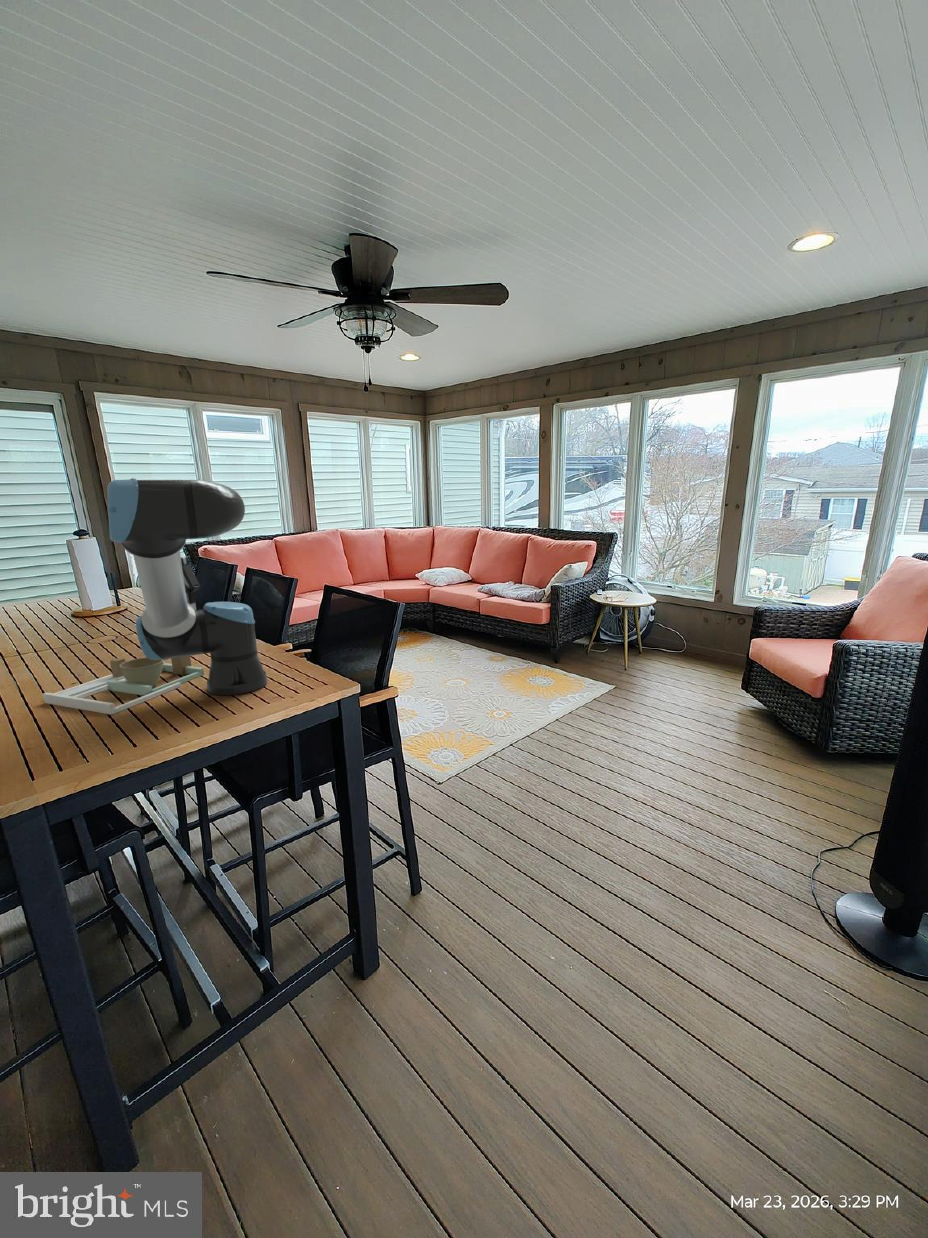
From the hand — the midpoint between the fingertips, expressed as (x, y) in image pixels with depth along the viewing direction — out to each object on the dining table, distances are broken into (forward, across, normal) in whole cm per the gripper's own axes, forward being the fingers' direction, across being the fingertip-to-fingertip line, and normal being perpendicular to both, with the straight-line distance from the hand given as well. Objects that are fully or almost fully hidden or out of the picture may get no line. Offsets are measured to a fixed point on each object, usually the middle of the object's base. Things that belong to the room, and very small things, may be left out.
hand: (173, 613), depth 147 cm
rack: (+18, +4, +18) cm, 26 cm away
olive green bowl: (+18, 0, +12) cm, 22 cm away
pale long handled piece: (+18, +13, +18) cm, 29 cm away
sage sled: (+18, 0, +8) cm, 20 cm away
